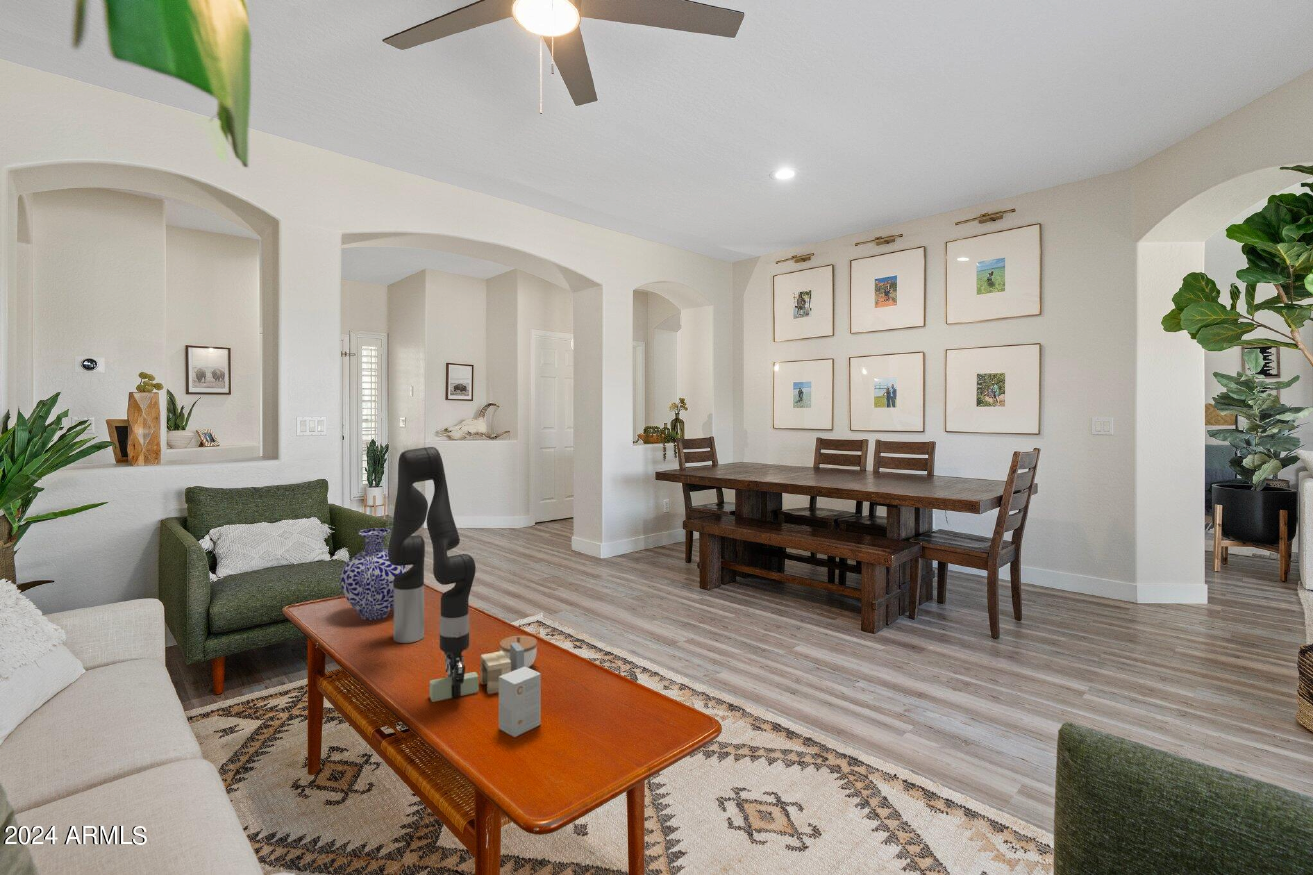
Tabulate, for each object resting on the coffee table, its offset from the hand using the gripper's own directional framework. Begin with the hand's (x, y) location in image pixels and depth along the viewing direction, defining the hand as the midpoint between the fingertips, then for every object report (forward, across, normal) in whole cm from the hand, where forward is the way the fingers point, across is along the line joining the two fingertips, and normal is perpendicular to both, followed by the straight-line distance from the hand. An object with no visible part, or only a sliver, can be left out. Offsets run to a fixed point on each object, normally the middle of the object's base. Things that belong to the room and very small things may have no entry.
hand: (454, 693), depth 175 cm
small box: (0, +24, +10) cm, 26 cm away
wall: (0, 0, +17) cm, 17 cm away
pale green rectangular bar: (0, 0, 0) cm, 0 cm away
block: (0, 0, +11) cm, 11 cm away
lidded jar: (0, -9, +20) cm, 22 cm away
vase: (0, -73, -11) cm, 74 cm away
